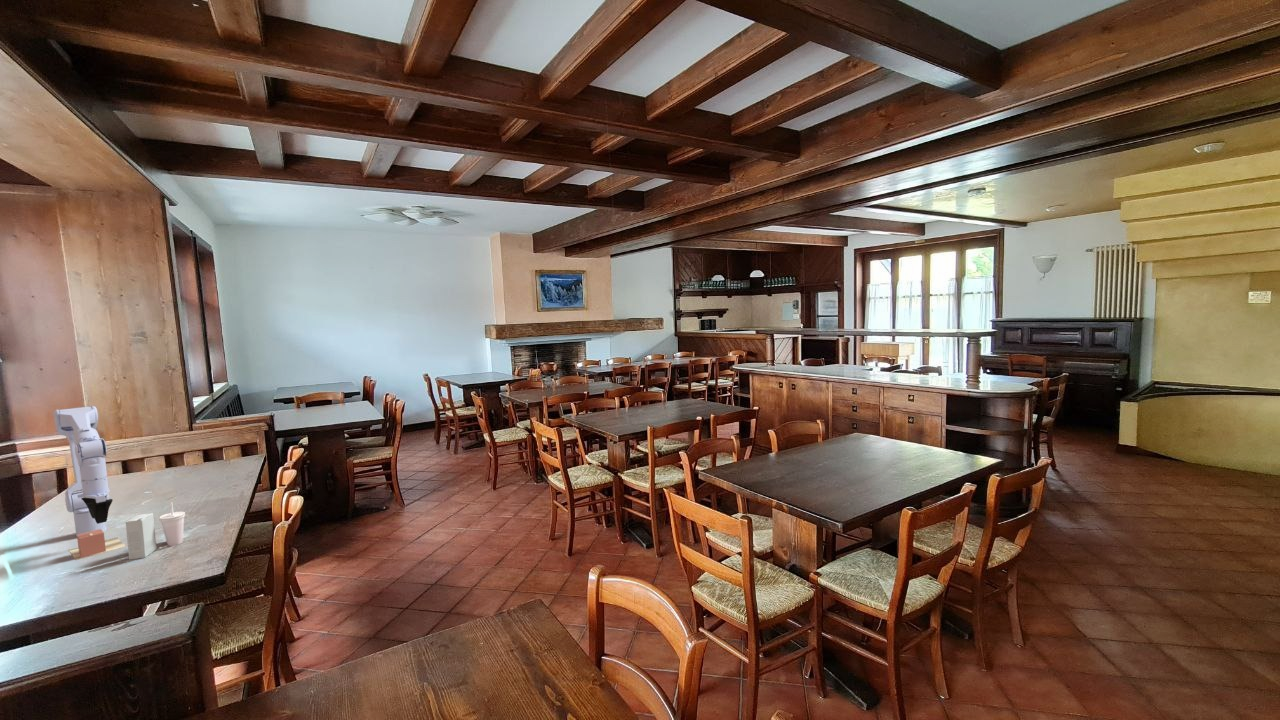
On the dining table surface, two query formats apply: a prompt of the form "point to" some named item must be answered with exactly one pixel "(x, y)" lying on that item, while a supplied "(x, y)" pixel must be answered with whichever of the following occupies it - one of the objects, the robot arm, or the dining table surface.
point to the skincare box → (141, 536)
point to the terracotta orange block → (91, 543)
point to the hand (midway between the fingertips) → (99, 519)
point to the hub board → (109, 545)
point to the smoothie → (173, 526)
